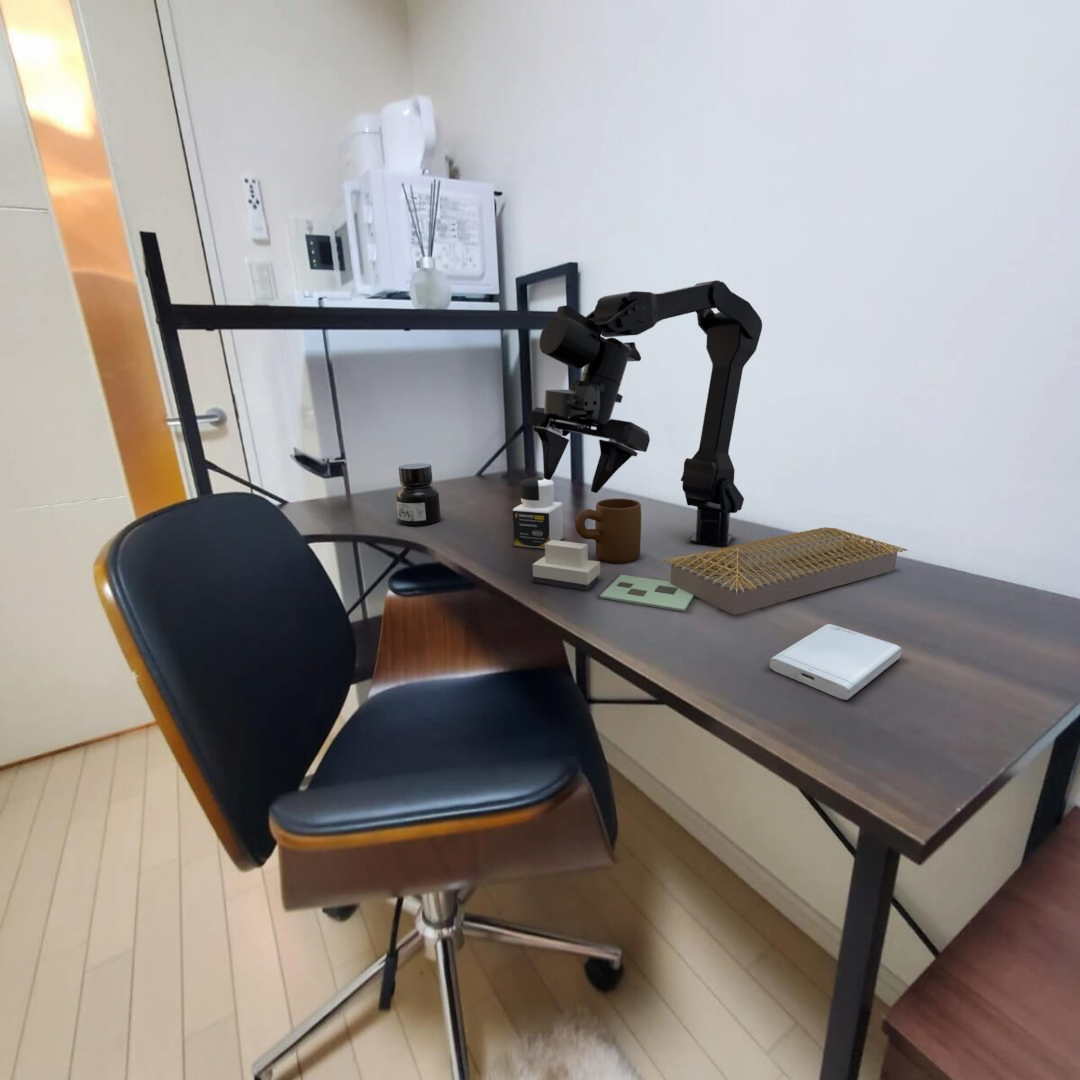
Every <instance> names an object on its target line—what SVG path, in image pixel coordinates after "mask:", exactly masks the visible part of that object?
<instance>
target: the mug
mask: <svg viewBox="0 0 1080 1080" xmlns="http://www.w3.org/2000/svg"><path fill="white" fill-rule="evenodd" d="M641 505H642V504H641V502H640V501H638V500H635V499H630V498H606V499H601V500H599V501H597V502H596V504H595V509H592V508H587V509H584V510H581V511H580V512H579V513H578V514H577V516H576V518H575V521H574V527H575V530H576V533H577V534H578V535H579V536H580V537H581V538H583V539H585V540H593V541H594V542H595V555H596V557H597V558H598V559H599V560H600V561H603V562H606V563H611V564H627V563H631V562H634V561H636V560H638V559H639V557H640V555H641V542H642V541H641V540H642V539H641V538H642V506H641ZM587 519H588V520H592V521H595V522H594V523H595V525H594V526H595V527H594V528H587V527H586V523H585V522H586V520H587Z"/></svg>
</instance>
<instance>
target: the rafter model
mask: <svg viewBox="0 0 1080 1080" xmlns="http://www.w3.org/2000/svg"><path fill="white" fill-rule="evenodd" d="M903 551H905V552H908V549H907V548H904V547H900V546H897V545H894V544H891V543H887V542H883V541H880V540H876V539H873V538H870V537H868V536H867V537H866V536H864V535H861V534H857V533H854V532H851V531H846V530H844V529H839V528H836V527H827V526H824V527H819V528H813V529H809V530H805V531H799V532H794V533H789V534H785V535H778V536H775V537H771V538H765V539H760V540H755V541H751V542H746V543H740V544H736V545H732V546H726V547H721V548H716V549H712V550H707V551H701V552H697V553H693V554H687V555H681V556H677V557H672V558H668V559H667V558H666V559H663V560H662V563H663V562H664V563H667V565H670V581H669V582H670V583H671V584H673V585H675V586H677V587H679V588H681V589H683V590H685V591H687V592H689V593H691V594H693V595H695V596H694V597H697V598H699V599H702V600H704V601H706V602H708V603H710V604H712V605H714V606H716V607H718V608H720V609H722V610H724V611H726V612H728V613H730V614H732V615H739V614H741V613H745V612H749V611H753V610H756V609H760V608H763V607H767V606H771V605H775V604H777V603H783V602H786V601H789V600H792V599H796V598H800V597H803V596H807V595H811V594H814V593H818V592H821V591H825V590H829V589H833V588H836V587H840V586H844V585H846V584H851V583H854V582H857V581H860V580H865V579H868V578H873V577H876V576H879V575H880V576H881V575H883V574H886V573H891V572H894V571H895V568H896V562H897V557H898V553H903ZM785 562H786V563H785ZM788 563H789V564H788ZM779 564H780V565H779ZM771 565H772V566H771ZM773 566H775V567H773ZM765 567H766V568H765ZM799 567H801V568H799ZM757 568H758V569H760V570H758V569H757ZM802 568H803V569H802ZM794 569H795V570H794ZM750 570H751V571H750ZM742 571H744V572H745V573H743V572H742ZM752 571H753V572H752ZM787 571H789V572H787ZM779 572H781V574H780V573H779ZM773 574H774V575H775V576H774V575H773ZM729 575H730V576H729ZM765 576H767V577H765ZM716 578H717V579H716ZM747 578H750V579H752V581H751V580H749V579H747ZM758 578H760V579H758ZM722 579H723V580H722ZM724 582H725V583H724Z"/></svg>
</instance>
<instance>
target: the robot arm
mask: <svg viewBox="0 0 1080 1080" xmlns="http://www.w3.org/2000/svg"><path fill="white" fill-rule="evenodd" d="M596 302H597V303H596V304H595V308H594V310H593V311H591V312H590V313H588V314H587V315H586V316H584V314H581V313H579V312H578V311H577V310H576V309H575V308H574V307H572V306H571V305H569V304H565V305H560V306H558V307H557V309H556V313H555V314H554V315H553V316H552V317H551V318H550V319H549V320H548V322H547V323H546V325H545V326H544V328H543V329H542V330H541V333H540V337H539V349H540V352H541V353H542V354H544V355H545V356H548V357H550V358H552V359H554V360H556V361H558V362H560V363H562V364H564V365H566V366H568V367H570V368H571V369H575V370H580V369H583V372H582V375H581V377H580V380H579V379H574V380H573V382H572V383H571V385H570V388H569V389H545V391H544V407H540V406H539V407H538V406H537V407H535V408H534V409H532V410H531V411H530V415H529V419H528V422H527V425H531V426H532V431H533V432H534V433H537V435H538V437H539V440H540V441H541V447H542V462H543V478H544V479H547V480H552V478H553V476H554V475H555V472H556V470H557V468H558V466H559V464H560V461H561V459H562V457H563V455H564V453H565V451H566V449H567V446H568V445H569V442H570V439H569V438H566V437H567V436H569V434H571V433H575V434H580V435H586V436H591V437H597V438H601V439H599V440H598V442H599V450H600V455H599V458H598V461H597V465H596V469H595V472H594V475H593V479H592V483H591V487H590V491H591V492H592V493H594V494H597V493H598V492H599V491H600V490H602V488H603V487H604V486H605V484H607V482H609V480H610V479H611V478H612V477H613V475H615V473H616V472H617V471H618V470H619V469H620V468H621V467H622V466H623V465H624V464H625V463H626V462H628V460H630V458H632V457H637V456H638V452H643V453H647V451H648V448H649V445H650V441H651V438H650V433H649V431H648V430H646V429H645V428H643V427H641V426H639V425H638V424H635V423H634V422H632V421H627V420H622V419H621V420H620V419H614V418H612V415H613V411H614V408H615V405H616V403H619V404H621V403H622V400H623V395H622V394H620V393H619V391H620V388H621V385H622V381H623V378H624V376H625V371H626V369H627V365H628V362H641V360H642V357H641V354H640V351H639V350H638V349H637V346H636V343H635V342H634V341H631V342H630V341H629V342H623V341H621V340H619V339H617V338H618V337H629V336H630V337H631V336H639V335H641V334H643V333H644V332H646V331H648V330H650V329H652V328H654V327H655V326H656V324H658V323H659V322H661V321H663V320H667V319H672V318H676V317H680V316H684V315H688V314H691V313H696V318H697V325H698V327H699V328H700V329H701V331H702V332H703V333H704V334H705V335H706V346H705V348H706V351H707V353H708V357H709V359H710V361H711V364H712V365H711V374H710V377H709V378H710V380H709V386H708V391H707V398H706V403H705V408H704V415H703V422H702V428H701V433H700V440H699V446H698V450H697V451H696V453H695V454H694V455H693V456H692V458H689V457H687V458H685V460H684V463H683V472H682V476H681V478H680V481H681V482H682V486H681V487H682V491H683V492H684V497H685V500H686V505H687V506H689V507H690V506H692V507H696V524H695V527H696V528H695V533H694V534H693V536H692V537H691V538H690V540H689V541H690V543H692V544H700V545H701V544H702V545H708V546H717V547H728V546H729V544H730V542H731V541H732V539H733V537H734V535H733V534H732V533H729V532H730V518H731V516H730V515H731V514H736V513H738V511H741V510H742V508H743V504H744V501H745V498H744V496H743V495H742V493H741V492H740V490H739V489H738V487H737V485H736V484H735V467H734V464H733V461H732V459H731V456H730V454H729V453H730V445H731V439H732V433H733V429H734V421H735V417H736V411H737V405H738V399H739V393H740V387H741V382H742V375H743V372H744V371H743V370H744V367H745V365H746V364H747V363H748V362H749V360H750V359H751V358H752V356H753V355H754V354H755V352H756V351H757V349H758V344H759V341H760V339H761V334H762V330H763V321H762V318H761V317H760V315H759V314H758V312H757V311H756V310H755V309H754V307H753V306H752V305H751V303H750V302H749V301H748V300H746V299H744V298H743V297H741V296H739V295H738V294H736V293H734V292H733V291H731V290H730V288H729V287H728V285H727V284H726V283H725V282H724V281H720V280H716V279H715V280H710V281H704V282H703V281H702V282H698V283H696V284H694V285H692V286H687V287H682V288H678V289H673V290H668V291H663V292H658V293H654V292H652V291H640V290H639V291H637V290H634V291H627V292H621V293H616V294H609V295H604V296H602V297H600V298H599V299H598V300H597V301H596ZM713 309H716V310H717V311H718V312H716V313H715V312H714V311H713ZM604 439H605V440H604ZM607 439H608V440H607ZM636 451H637V452H636Z"/></svg>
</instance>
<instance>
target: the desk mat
mask: <svg viewBox="0 0 1080 1080" xmlns="http://www.w3.org/2000/svg"><path fill="white" fill-rule="evenodd" d="M670 582H671V581H668V580H662V579H654V578H647V577H639V576H633V575H627V574H620V575H619V576H618V577H617V578H616V579H615V580H614V581H613V582H612V583H611V584H610V585H609V586H608V587H607V588H606V589H605V590H604V591H603V592H602V593H601V594H600V595H599V598H600V599H604V600H611V601H616V602H623V603H628V604H635V605H640V606H648V607H653V608H658V609H659V608H660V609H664V610H665V609H666V610H671V611H677V612H682V613H685V612H686V611H687V609H688V607H689V606H690V604H691V602H692V601H693V599H694V598H695V597H696V596H695V595H693V594H691V593H689V592H687V591H685V590H683V589H681V588H679V587H677V586H675V585H673V584H671V583H670Z"/></svg>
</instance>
